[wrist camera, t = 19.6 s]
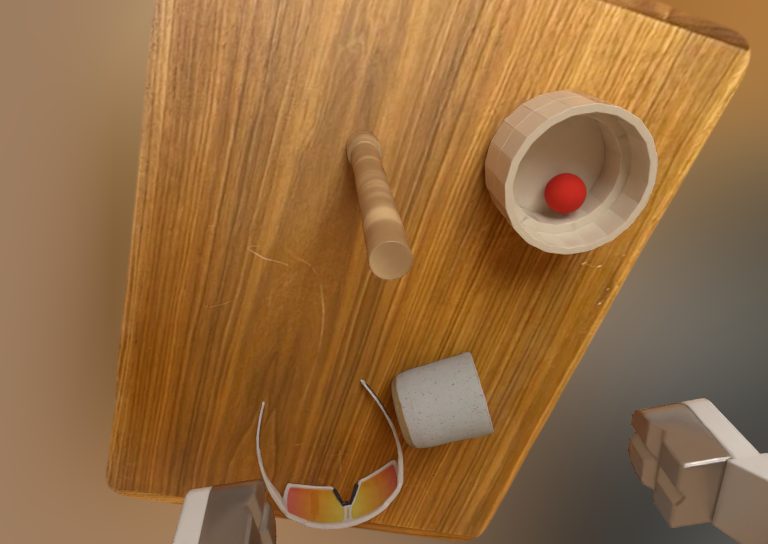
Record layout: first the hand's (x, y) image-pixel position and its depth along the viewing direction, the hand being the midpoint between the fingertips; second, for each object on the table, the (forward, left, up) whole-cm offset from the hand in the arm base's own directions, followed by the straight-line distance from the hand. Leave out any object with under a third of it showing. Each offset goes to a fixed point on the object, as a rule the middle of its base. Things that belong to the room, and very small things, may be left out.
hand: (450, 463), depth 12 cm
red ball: (+8, +15, -31) cm, 35 cm away
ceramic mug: (+27, +4, -33) cm, 43 cm away
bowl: (+5, +15, -33) cm, 37 cm away
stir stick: (+2, 0, -33) cm, 33 cm away
